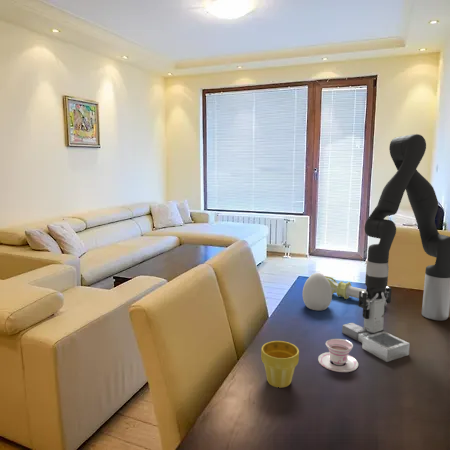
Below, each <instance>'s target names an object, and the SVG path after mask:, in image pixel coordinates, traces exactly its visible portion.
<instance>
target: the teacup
mask: <svg viewBox="0 0 450 450" xmlns="http://www.w3.org/2000/svg"><path fill="white" fill-rule="evenodd" d="M325 346H326V348H327V350H328V351H326V352H323V353H321V354H320V355H318V357H317V361H318V364H320V366H322V367H324V369H327V370H329V371H333V372H337V373H349V372H350V373H351V372H354V371H355V370H357V369H358V367H359V362H358V359H356V358H355V357H354V356H352V355H350V352H351V351H352V350H353V348H354V344H353V343H352V342H351V341H349V340H347V339H343V338H330V339H328V340H326V341H325ZM331 362H332V363H333V364H332V363H331ZM344 364H345V365H344Z"/></svg>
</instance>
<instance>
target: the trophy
mask: <svg viewBox="0 0 450 450" xmlns="http://www.w3.org/2000/svg"><path fill="white" fill-rule="evenodd" d="M324 276H325V277H326V278H327V279H328V281H329V283H330V285H331V289H332V295H333V294H336V295H337V297H338V298H340V297H343V298H344V300H345V299H346V300H348V299H349V298H351V297H352V298H355V299H359V292H360V291H363V292H364V291H366V289H364V288H359V287H355V286H352V283H351V282H350V281H347V282H343V281H339V282H337V280H336V279H334V278H333V277H330V276H326V275H324Z"/></svg>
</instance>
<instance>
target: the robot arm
mask: <svg viewBox="0 0 450 450" xmlns="http://www.w3.org/2000/svg"><path fill="white" fill-rule="evenodd" d="M426 149H427V142H426V139H425V138H424V136H423V135H421V134H418V133H416V134H415V133H414V134H408V135H401V136H397V137H394V138H393V139H391V140H390V142H389V154H390V158H391V159H392V162H393V164H394V166H395V168H396V170H397V171H396V172H395V173H394V174H393V176H391V178H390V179H389V181H388V182H387V183H386V184H385V185H384V188H383V189H382V190H381V194H380V196H379V199H378V203H377V204H376V207H374V209H373V210H372V211H371V214H370V215H369V216H368V217H367V220H366V221H365V224H364V232H365V234H366V236H368V237H370V238H375V239H380V240H379V242H378V243H375V244H370V245H369V246H368V249H367V261H366V267H365V281H364V284H365V286H366V289H365V290H366V291H364V292H363V291H360V292H359V298H358V307H359V308H361V309H362V318H365V319H369V312H370V309H369V308H370V306H371V305H372V304H373V303H374V301H375V300H376V299H381V298H382V299H383V301H385V304H384V316H385V315H386V308H387V307H386V306H388V304H390V303H392V302H391V300H392V287H390V286H388V282H389V279H388V278H389V257H390V250H391V247H392V244H393V242H394V239H395V237H396V234H397V226H396V224H395V222H394V221H392V220H391V219H386V218H387V217H389V216H394V215H396V214H397V213H398V211H399V207H400V205H401V203H402V200H403V196H404V195H405V194H404V193H406V194H407V195H406V196H407V199H408V201H409V204H410V207H411V209H412V213H413V214H414V215H413V216H414V218H415V221H416V224H417V228H418V231H419V236H420V241H421V246H422V248H423V251H424V252H425V254H426V255H428V256H430V257H433V258H435V263H434V264H430V265H427V266H426V267H425V275H424V284H423V295H422V307H421V316H423V317H425V318H426V319H429V320H433V321H446V320H448V318H449V317H450V236H448V235H444V234H441V233H440V232H439V231H438V228H437V225H436V216H437V213H438V209H439V200H438V197H437V194H436V191H435V189H434V186H433V185H432V184H431V183H430V181H428V179H426V178H425V177H424V176H423V175H422V173H420V172H419V170H417V169H418V167H419V165H420V163H421V161H422V160H423V157H424V156H425V153H426ZM367 298H369V299H371V301H369V300H367ZM367 303H368V305H367V306H366V304H367Z"/></svg>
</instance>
